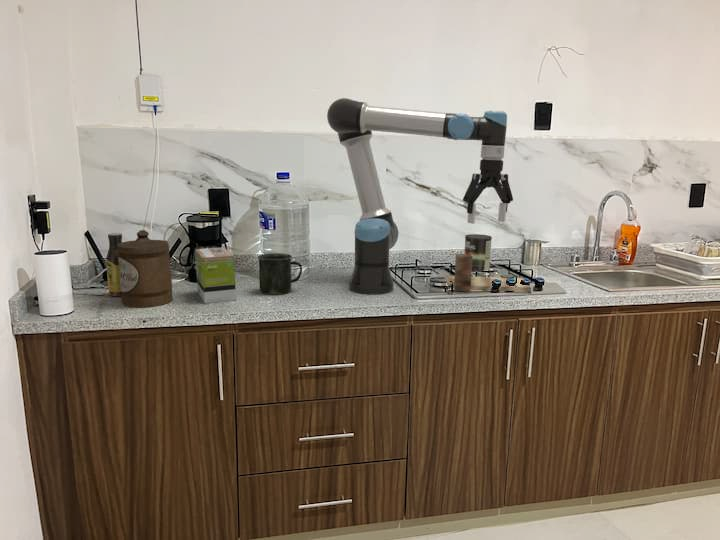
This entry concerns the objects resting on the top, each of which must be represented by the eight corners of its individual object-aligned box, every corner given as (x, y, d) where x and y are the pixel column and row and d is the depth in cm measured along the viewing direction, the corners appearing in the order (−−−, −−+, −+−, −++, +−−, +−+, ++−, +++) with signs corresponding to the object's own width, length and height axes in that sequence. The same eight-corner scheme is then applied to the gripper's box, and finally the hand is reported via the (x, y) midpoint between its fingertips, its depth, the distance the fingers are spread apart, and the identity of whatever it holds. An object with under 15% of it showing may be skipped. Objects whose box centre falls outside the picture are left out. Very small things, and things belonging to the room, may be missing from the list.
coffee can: (473, 275, 217) (475, 238, 214) (458, 269, 226) (459, 234, 223) (495, 272, 221) (497, 237, 218) (479, 267, 230) (481, 233, 227)
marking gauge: (455, 291, 190) (457, 256, 188) (452, 282, 203) (453, 249, 200) (470, 291, 190) (472, 256, 187) (466, 282, 202) (468, 250, 200)
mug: (258, 287, 192) (258, 253, 190) (301, 287, 195) (301, 252, 192) (257, 296, 182) (256, 259, 179) (303, 295, 184) (302, 258, 182)
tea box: (196, 292, 185) (194, 248, 182) (227, 289, 189) (225, 246, 186) (203, 304, 172) (201, 256, 169) (236, 300, 176) (235, 254, 173)
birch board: (447, 290, 192) (447, 284, 192) (444, 281, 206) (444, 275, 206) (530, 293, 190) (531, 287, 190) (522, 283, 204) (522, 277, 204)
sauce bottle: (108, 293, 183) (103, 232, 178) (129, 291, 185) (125, 231, 181) (108, 298, 177) (103, 235, 173) (130, 296, 179) (125, 234, 175)
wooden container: (117, 298, 176) (111, 229, 172) (165, 292, 184) (161, 226, 180) (127, 310, 164) (121, 235, 160) (178, 303, 172) (174, 232, 167)
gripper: (470, 158, 179) (464, 225, 183) (527, 160, 191) (521, 222, 195) (455, 157, 185) (450, 222, 190) (511, 159, 197) (505, 219, 202)
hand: (486, 222), depth 193 cm, fingers open, 13 cm apart
